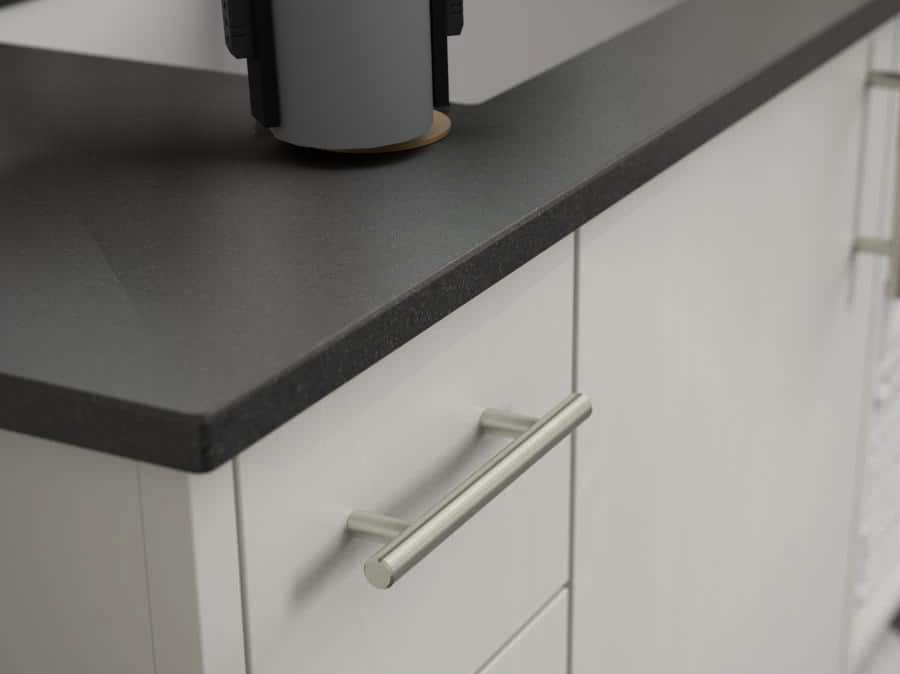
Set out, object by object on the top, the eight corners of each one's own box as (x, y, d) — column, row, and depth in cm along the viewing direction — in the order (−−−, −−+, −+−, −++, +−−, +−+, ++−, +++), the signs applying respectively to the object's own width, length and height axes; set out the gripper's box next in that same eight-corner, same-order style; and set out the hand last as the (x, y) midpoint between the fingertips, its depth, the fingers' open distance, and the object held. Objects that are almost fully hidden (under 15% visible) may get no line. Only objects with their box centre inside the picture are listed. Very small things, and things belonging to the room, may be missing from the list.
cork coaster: (316, 161, 83) (316, 155, 82) (270, 119, 90) (270, 114, 89) (475, 140, 85) (475, 135, 85) (418, 101, 92) (418, 96, 92)
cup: (240, 140, 82) (221, -67, 78) (313, 99, 89) (300, -95, 84) (394, 155, 80) (384, -59, 75) (457, 111, 87) (452, -87, 82)
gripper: (98, -390, 67) (161, 155, 78) (571, -397, 74) (568, 104, 84) (68, -389, 73) (131, 116, 84) (507, -396, 80) (512, 71, 91)
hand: (350, 110), depth 84 cm, fingers closed on cup, 8 cm apart
